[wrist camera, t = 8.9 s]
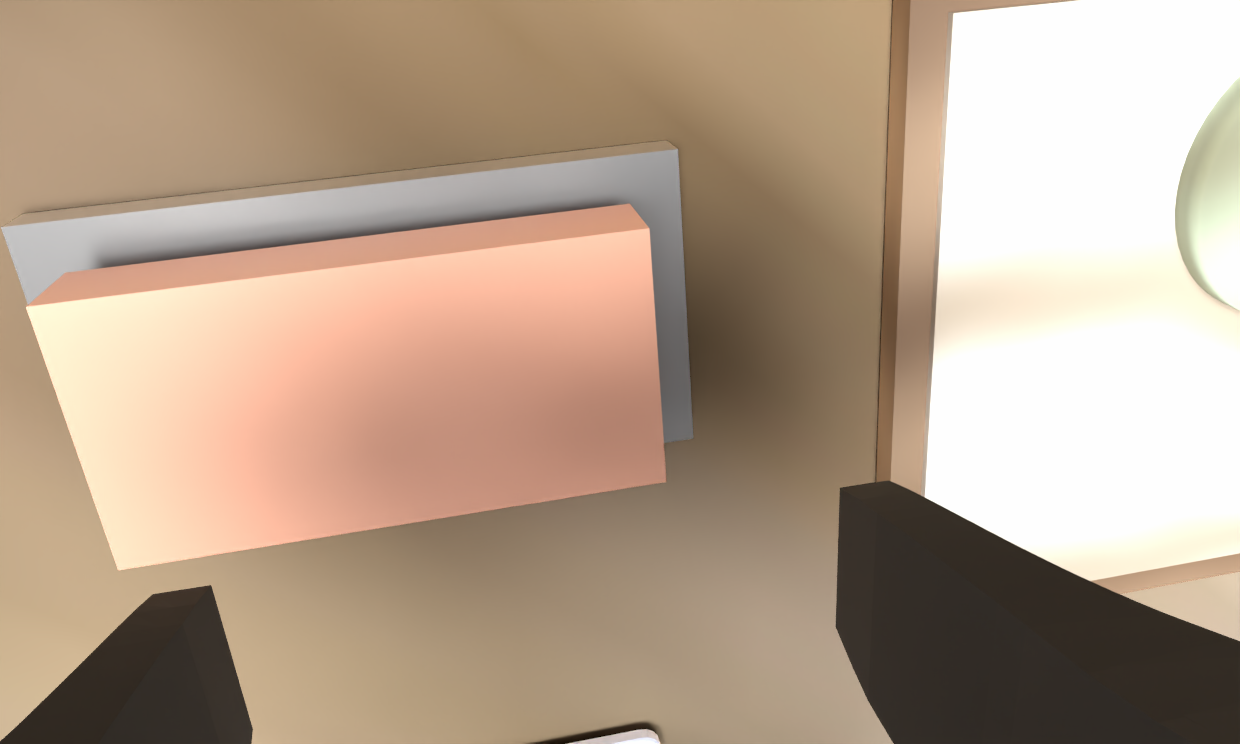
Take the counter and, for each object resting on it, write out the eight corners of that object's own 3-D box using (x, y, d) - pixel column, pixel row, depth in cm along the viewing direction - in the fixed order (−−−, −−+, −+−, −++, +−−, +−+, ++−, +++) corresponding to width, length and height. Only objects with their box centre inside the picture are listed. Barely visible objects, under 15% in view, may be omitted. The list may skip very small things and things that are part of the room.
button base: (682, 418, 22) (693, 438, 21) (120, 504, 21) (106, 529, 20) (666, 140, 20) (677, 148, 19) (22, 213, 18) (1, 227, 17)
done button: (647, 439, 20) (666, 481, 19) (145, 517, 19) (117, 569, 17) (629, 203, 18) (649, 228, 16) (65, 272, 17) (25, 306, 15)
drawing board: (1367, 527, 28) (1425, 562, 26) (871, 619, 26) (900, 664, 24) (1540, -90, 21) (1633, -94, 20) (893, -29, 19) (936, -27, 18)
